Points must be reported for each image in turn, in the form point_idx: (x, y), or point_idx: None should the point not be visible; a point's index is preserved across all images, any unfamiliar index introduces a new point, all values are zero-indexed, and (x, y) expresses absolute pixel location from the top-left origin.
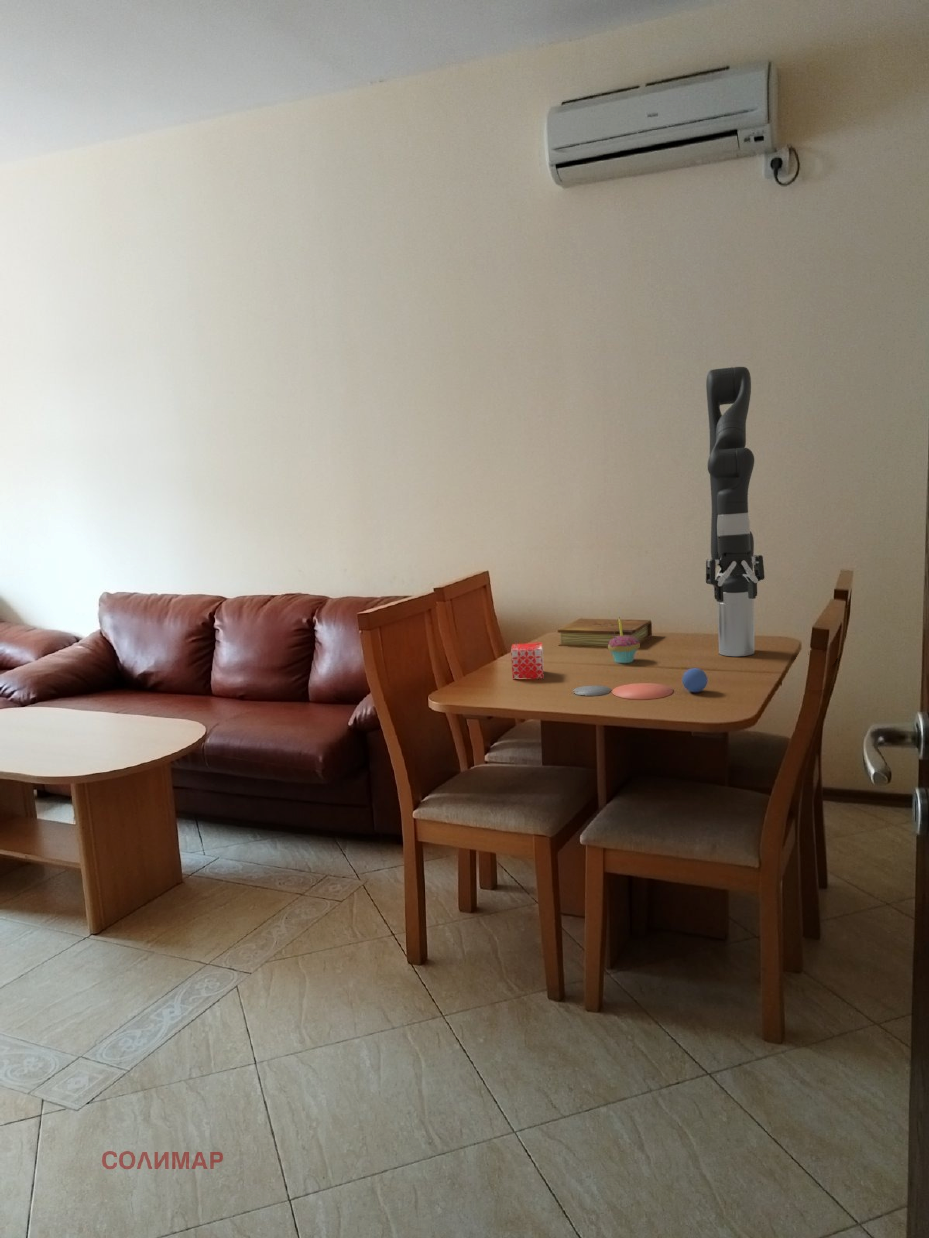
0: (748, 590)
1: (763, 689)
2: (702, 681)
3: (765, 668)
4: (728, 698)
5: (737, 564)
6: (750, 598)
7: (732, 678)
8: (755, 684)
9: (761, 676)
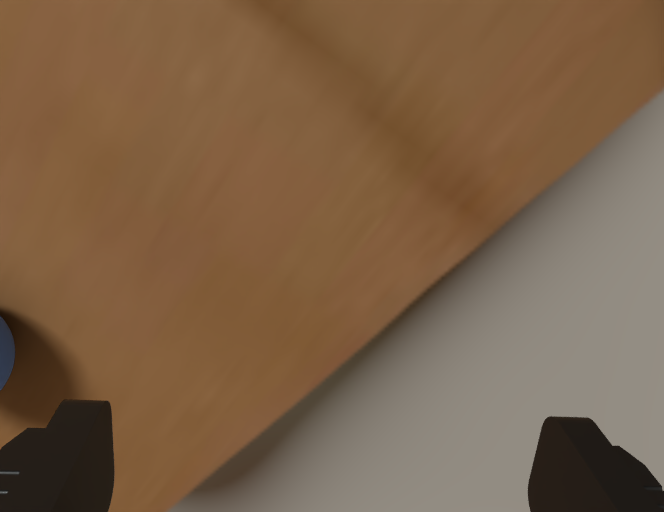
0: (592, 489)
1: (259, 419)
2: None
3: (515, 132)
4: None
5: None
6: (539, 448)
7: (250, 214)
8: (277, 348)
9: (388, 254)
